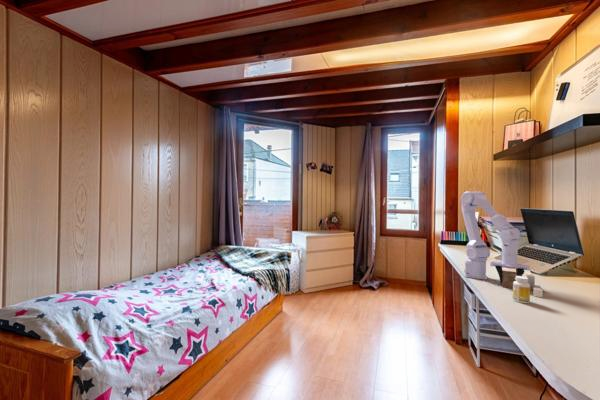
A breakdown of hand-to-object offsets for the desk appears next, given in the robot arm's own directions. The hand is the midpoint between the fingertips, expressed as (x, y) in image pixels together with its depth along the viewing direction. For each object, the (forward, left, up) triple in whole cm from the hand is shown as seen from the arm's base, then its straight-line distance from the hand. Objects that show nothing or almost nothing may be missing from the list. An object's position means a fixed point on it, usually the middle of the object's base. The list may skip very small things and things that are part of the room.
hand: (508, 283), depth 130 cm
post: (+8, +2, -1) cm, 8 cm away
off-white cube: (+9, -8, -1) cm, 12 cm away
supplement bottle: (+2, -19, -2) cm, 19 cm away
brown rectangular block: (0, 0, -1) cm, 1 cm away
